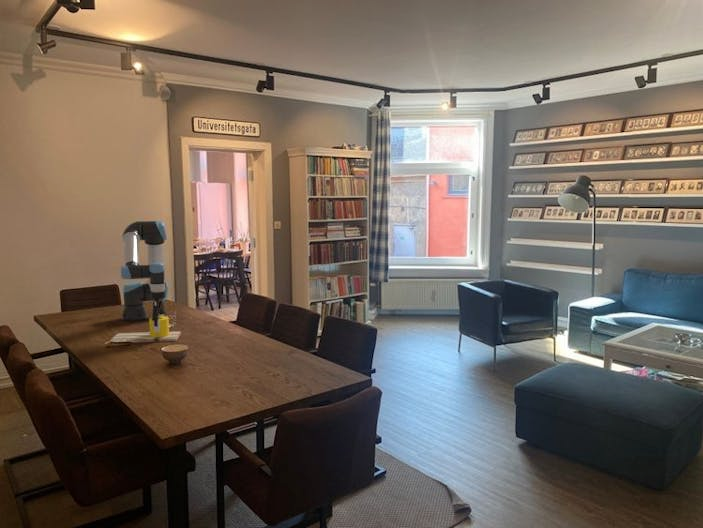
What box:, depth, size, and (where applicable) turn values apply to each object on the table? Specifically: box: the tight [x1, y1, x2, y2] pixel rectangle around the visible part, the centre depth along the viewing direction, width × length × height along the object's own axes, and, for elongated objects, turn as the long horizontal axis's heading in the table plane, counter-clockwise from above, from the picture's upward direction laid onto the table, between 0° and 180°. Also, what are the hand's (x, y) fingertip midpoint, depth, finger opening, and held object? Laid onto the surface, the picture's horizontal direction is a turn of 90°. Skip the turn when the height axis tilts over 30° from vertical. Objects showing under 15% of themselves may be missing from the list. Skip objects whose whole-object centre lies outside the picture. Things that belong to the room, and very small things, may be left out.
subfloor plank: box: [109, 330, 182, 344], centre depth 289 cm, size 16×34×2 cm, turn 98°
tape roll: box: [148, 315, 170, 337], centre depth 290 cm, size 10×10×9 cm
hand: (159, 328), depth 290 cm, fingers open, 13 cm apart
